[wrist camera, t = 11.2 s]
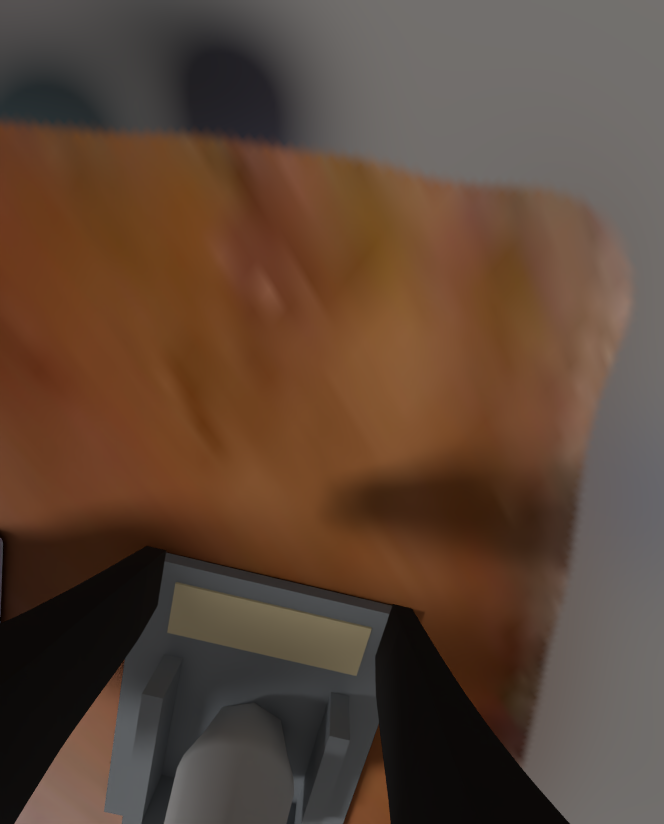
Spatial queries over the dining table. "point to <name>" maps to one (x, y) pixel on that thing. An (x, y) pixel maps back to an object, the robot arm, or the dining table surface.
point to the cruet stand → (247, 684)
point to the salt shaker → (234, 772)
